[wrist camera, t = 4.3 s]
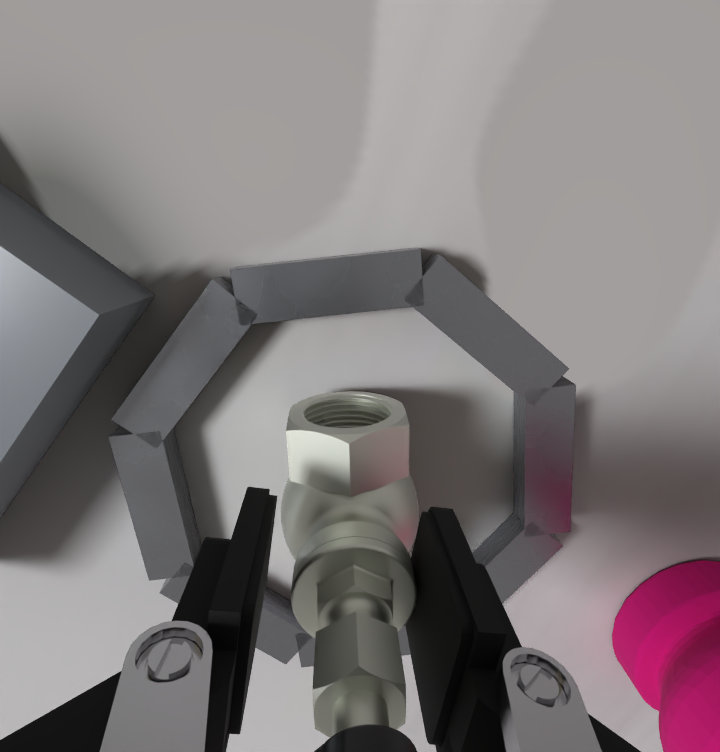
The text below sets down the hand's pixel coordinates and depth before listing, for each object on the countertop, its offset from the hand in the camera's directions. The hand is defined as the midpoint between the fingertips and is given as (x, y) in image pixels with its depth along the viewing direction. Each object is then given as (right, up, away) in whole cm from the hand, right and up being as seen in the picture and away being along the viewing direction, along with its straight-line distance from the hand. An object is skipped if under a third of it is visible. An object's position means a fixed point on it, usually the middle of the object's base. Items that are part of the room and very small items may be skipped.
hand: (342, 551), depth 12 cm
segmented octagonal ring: (0, +1, +4) cm, 5 cm away
